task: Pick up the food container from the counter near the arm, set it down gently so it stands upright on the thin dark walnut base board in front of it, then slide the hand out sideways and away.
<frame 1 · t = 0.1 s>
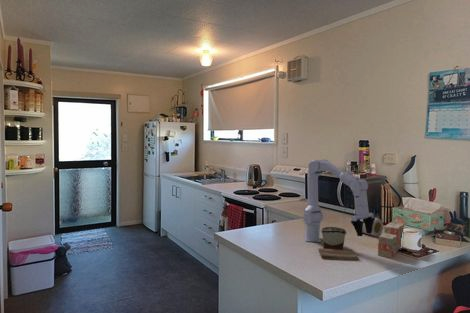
hand: (364, 234, 156), 11 cm above the worktop, tool pointing down, fingers open, 7 cm apart
food container: (332, 248, 170), on the worktop
toilet paper: (369, 234, 194), on the worktop
walnut base: (337, 255, 158), on the worktop
stack of blocks: (390, 251, 165), on the worktop
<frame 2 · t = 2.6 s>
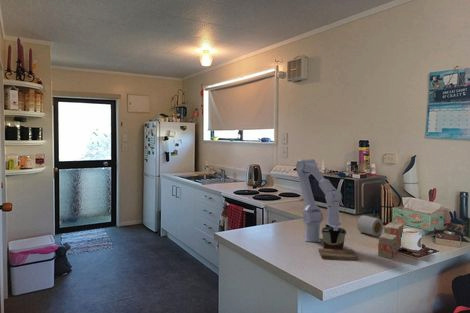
hand: (332, 240, 169), 3 cm above the worktop, tool pointing down, fingers closed on food container, 6 cm apart
food container: (332, 247, 170), on the worktop, touching gripper
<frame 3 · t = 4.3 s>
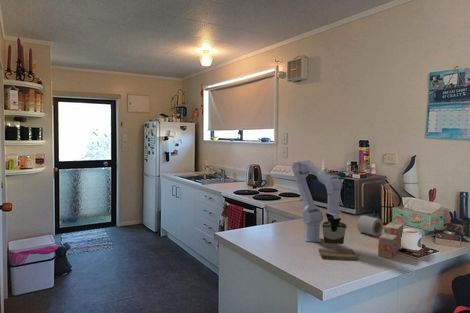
hand: (332, 229, 169), 9 cm above the worktop, tool pointing down, fingers closed on food container, 6 cm apart
food container: (332, 242, 170), point 3 cm above the worktop, touching gripper
everything else where it was.
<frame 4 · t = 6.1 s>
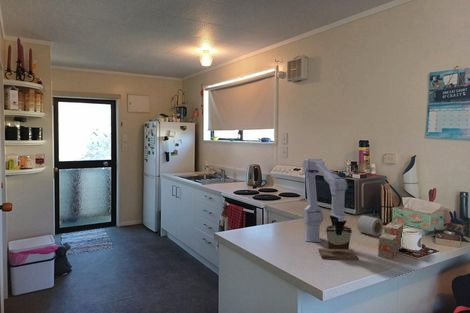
hand: (337, 232, 159), 10 cm above the worktop, tool pointing down, fingers closed on food container, 6 cm apart
food container: (336, 247, 160), point 3 cm above the worktop, touching gripper
everything else where it was.
when the fingers open (10 cm above the worktop, at t = 8.4 s): food container drops 1 cm, resting on walnut base.
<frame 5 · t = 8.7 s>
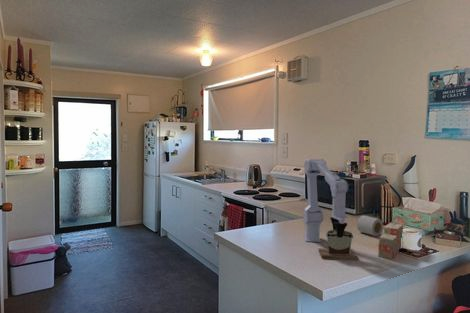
hand: (337, 234, 158), 10 cm above the worktop, tool pointing down, fingers open, 7 cm apart
food container: (337, 252, 158), point 1 cm above the worktop, touching walnut base
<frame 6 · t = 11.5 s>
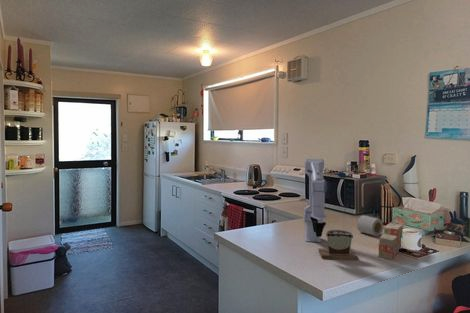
hand: (317, 234, 158), 10 cm above the worktop, tool pointing down, fingers open, 7 cm apart
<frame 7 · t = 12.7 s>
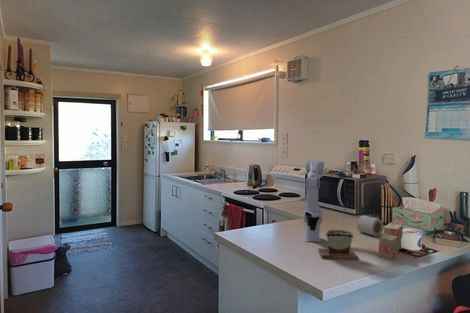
hand: (311, 228, 167), 10 cm above the worktop, tool pointing down, fingers open, 7 cm apart
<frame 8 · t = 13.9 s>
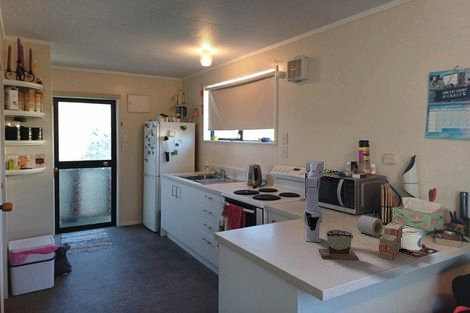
hand: (311, 228, 167), 10 cm above the worktop, tool pointing down, fingers open, 7 cm apart
at the end: food container inside the target area on the walnut base (0.4 cm from its centre), point 1.3 cm above the walnut base's base; food container tilted 0°; the gripper is holding nothing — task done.
